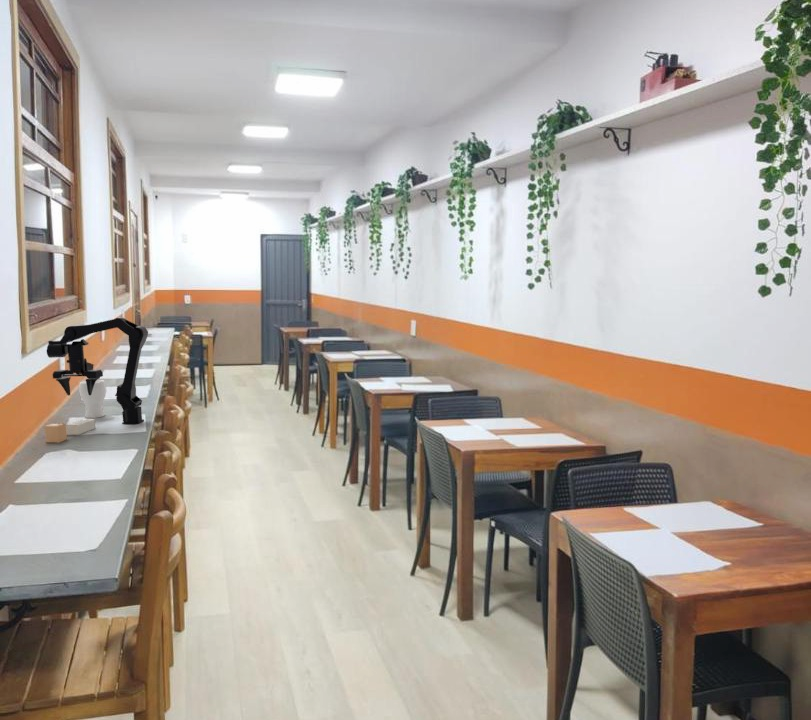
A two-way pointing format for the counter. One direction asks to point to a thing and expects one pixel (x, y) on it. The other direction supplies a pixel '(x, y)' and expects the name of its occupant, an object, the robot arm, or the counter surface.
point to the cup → (93, 398)
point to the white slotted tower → (80, 426)
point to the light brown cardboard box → (56, 432)
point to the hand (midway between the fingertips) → (79, 395)
